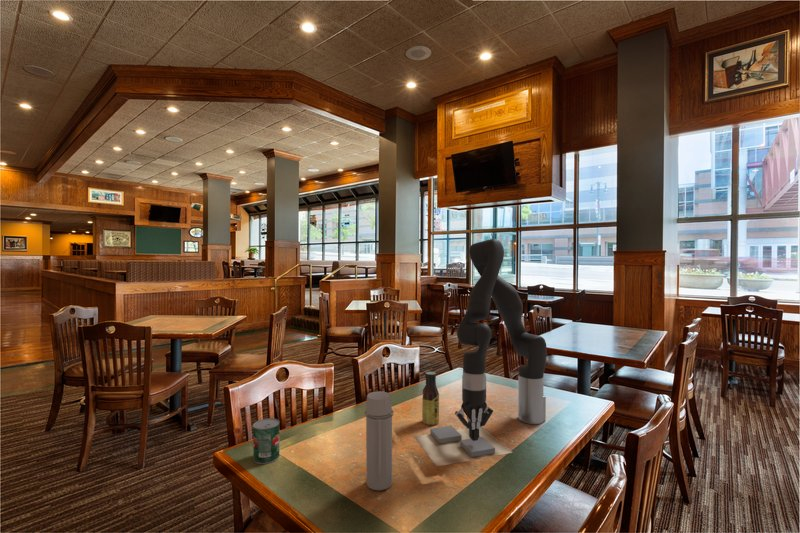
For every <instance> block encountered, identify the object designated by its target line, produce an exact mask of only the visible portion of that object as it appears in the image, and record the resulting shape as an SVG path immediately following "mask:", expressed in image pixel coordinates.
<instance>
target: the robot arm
mask: <svg viewBox="0 0 800 533" xmlns="http://www.w3.org/2000/svg"><path fill="white" fill-rule="evenodd" d="M468 250H469V257H470V260H471V262H472V265H473V267H474V268H475V270H476V271H477V273H478V275H479V276H480V277H479V279H478V280H477V282H475V284H474V285H473V288H472V289H471V290H470V294H469V298H468V305H467V308H466V312H465V314H464V316H463V318H462V320H461V321H460V323H459V325H458V328H457V332H456V337H457V340H458V342H459V343H460V344H462V345H469V346H477V347H478V348H477V350H474V351H473V350H472V351H467V352H465V353H463V356H462V378H461V385H462V386H461V388H462V389H461V393H462V394H461V396H462V397H461V400H462V404H461V405H460V409H459V410H456V411H455V412H454V415H455V416H456V417H457V419H458V420H459V421H460V422H461V424H462V425H463V426H464V427H465V428H468V429H469V437H470V438H471V439H472V440H473V441H476V440H478V438H479V428H480V427H484V426H485V425H486V424H487V422H489V419H490V418H491V416H492V415H493V413H494V410H493V409H492V408H490V407H489V406H488V404H487V374H486V360H487V353H488V348H489V345H490V342H491V339H492V329H491V327H490V326H489V325H488V324H486V323H482V322H481V323H478V321H483V320H486V319H487V318H488V317H489V314H490V308H491V302H492V300H493V303H494V305H495V307H496V309H497V312H498V313H499V315H500V317H501V318H502V321H503V323H504V326H505V327H506V329H507V332H508V334H509V337H510V341H511V344H512V346H513V349H514V351H515V352H516V353H517V354H518V355H519V356H520V357H524V358H527V364H524V365H521V366H519V367H518V379H517V380H518V394H517V395H518V398H517V399H518V400H517V401H518V403H517V404H518V407H517V408H518V409H517V411H518V412H517V415H518V420H519V421H520V422H521V423H525V424H527V425H528V424H529V425H540V424H542V423H544V422H546V421H547V419H546V418H547V415H546V411H547V410H546V407H547V406H546V405H547V404H546V402H547V401H546V400H547V397H546V395H544V378H545V377H544V374H545V370H546V365H547V364H546V363H547V350H548V349H547V343H546V340H545V338H544V337H543V336H541V335H538V334H537V335H536V334H532V333H529V332H527V330H526V328H525V326H524V324H523V322H522V317H523V311H524V305H523V301H522V299H521V297H520V296H519V293H518V291H517V289H516V288H515V287H514V286H513V285H512V284H510V283H509V281H507V280H505V279H504V278H503V277H501V276H500V275H499V274H500V271H501V268H502V265H503V262H504V257H505V249H504V246H503V243H502V242H501V241H500V239H498V238H489V239H485V240H482V241H478V242H474V243H473V244H471V245H470V247H469V249H468ZM465 416H466V419H467V420H466V419H465Z"/></svg>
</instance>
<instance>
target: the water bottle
mask: <svg viewBox="0 0 800 533" xmlns="http://www.w3.org/2000/svg"><path fill="white" fill-rule="evenodd" d="M391 398H392V397H391V393H389V392H386V391H380V390H379V391H372V392H370V393H369V392H368V394H366V402H365V410H364V415H365V417H366V418H365V422H366V423H365V425H366V426H365V427H366V428H365V434H366V435H365V437H366V438H365V439H366V443H365V444H366V446H365V447H366V449H365V450H366V452H365V453H366V456H365V457H366V462H365V463H366V465H365V466H366V485H367V486H368V488H369V489H371V490H373V491H377V492H380V491H384V490H385V491H386V490H387V489H389V488H390V487H391V485H392V484H393V416H394V414H395V413H394V410H393V408H392V407H393V406H392V399H391Z"/></svg>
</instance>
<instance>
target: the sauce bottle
mask: <svg viewBox="0 0 800 533" xmlns="http://www.w3.org/2000/svg"><path fill="white" fill-rule="evenodd" d="M424 374H425V375H424V376H425V386H424V387H423V389H422V402H421V404H422V407H421V408H422V411H421V412H422V423H423V425H425V426H430V427H432V426H437V425H439V423H440V393H439V390H438V388H437V383H436V382H437V380H436V379H437V373H436V372H435V371H427V372H425V373H424Z"/></svg>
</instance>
